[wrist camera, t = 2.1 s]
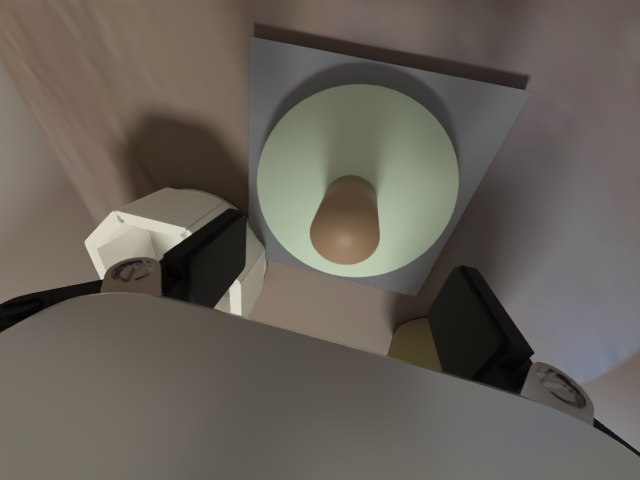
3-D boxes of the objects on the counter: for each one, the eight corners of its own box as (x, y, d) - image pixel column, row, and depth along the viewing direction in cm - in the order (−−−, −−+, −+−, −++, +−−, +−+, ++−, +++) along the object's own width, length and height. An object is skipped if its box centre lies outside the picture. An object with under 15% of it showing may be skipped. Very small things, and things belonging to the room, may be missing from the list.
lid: (266, 64, 12) (207, 45, 8) (497, 109, 12) (579, 117, 7) (260, 248, 19) (226, 296, 14) (408, 284, 18) (422, 347, 14)
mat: (254, 38, 12) (249, 36, 12) (524, 91, 12) (531, 91, 11) (251, 250, 20) (248, 254, 19) (414, 291, 19) (415, 297, 19)
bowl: (134, 174, 18) (63, 197, 14) (271, 206, 17) (240, 241, 13) (162, 279, 24) (118, 317, 20) (264, 306, 23) (241, 352, 19)
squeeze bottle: (390, 299, 20) (454, 924, 5) (491, 315, 19) (975, 1174, 4) (374, 355, 24) (383, 782, 9) (456, 371, 23) (620, 881, 8)
